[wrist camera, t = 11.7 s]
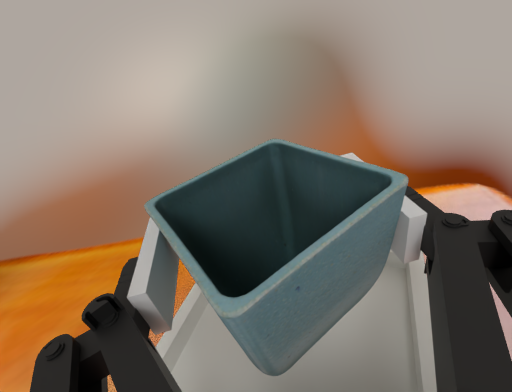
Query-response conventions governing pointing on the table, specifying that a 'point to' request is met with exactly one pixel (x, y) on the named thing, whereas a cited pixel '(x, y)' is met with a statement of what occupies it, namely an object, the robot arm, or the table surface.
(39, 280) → the table surface
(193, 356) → the tray
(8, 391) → the table surface
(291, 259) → the flower pot
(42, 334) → the table surface
